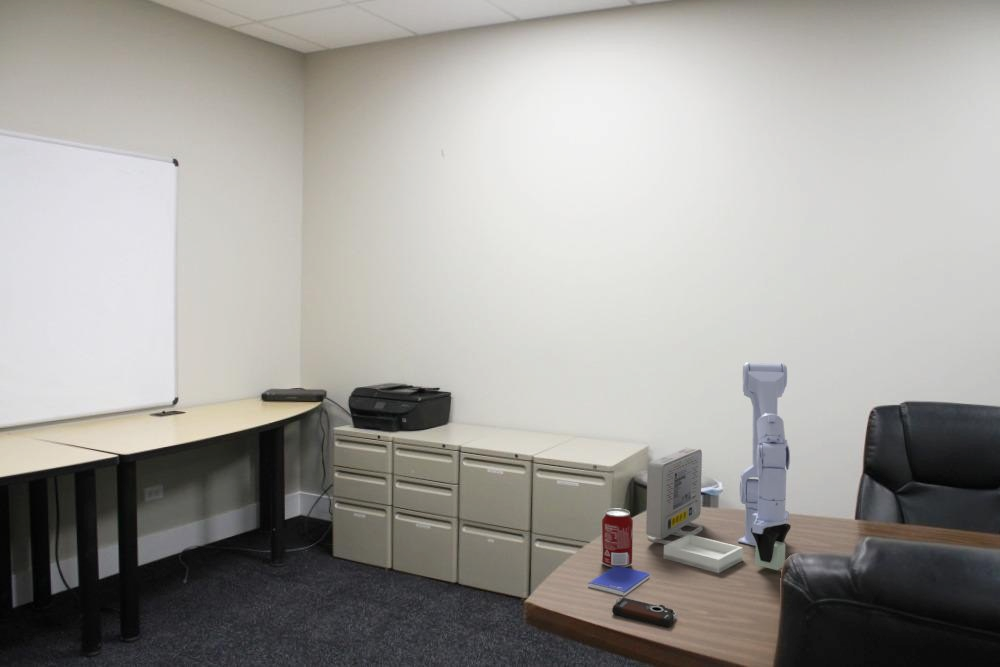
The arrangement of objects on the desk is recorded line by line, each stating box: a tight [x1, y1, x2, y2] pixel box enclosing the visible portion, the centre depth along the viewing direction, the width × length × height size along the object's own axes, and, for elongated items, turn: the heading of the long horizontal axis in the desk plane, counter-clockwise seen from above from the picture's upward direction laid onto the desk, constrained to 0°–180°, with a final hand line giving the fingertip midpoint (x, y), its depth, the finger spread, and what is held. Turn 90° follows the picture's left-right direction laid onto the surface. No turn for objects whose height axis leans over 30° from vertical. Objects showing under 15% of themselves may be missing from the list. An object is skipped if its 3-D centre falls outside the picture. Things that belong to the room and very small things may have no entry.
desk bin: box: [663, 534, 744, 574], centre depth 175 cm, size 12×14×3 cm
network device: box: [645, 447, 703, 545], centre depth 194 cm, size 26×9×20 cm, turn 144°
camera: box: [611, 596, 677, 628], centre depth 144 cm, size 6×3×11 cm
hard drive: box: [587, 566, 650, 596], centre depth 161 cm, size 2×8×12 cm
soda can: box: [601, 508, 634, 569], centre depth 171 cm, size 7×7×12 cm
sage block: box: [754, 541, 786, 571], centre depth 169 cm, size 4×5×5 cm
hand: (770, 558), depth 169 cm, fingers closed on sage block, 4 cm apart
